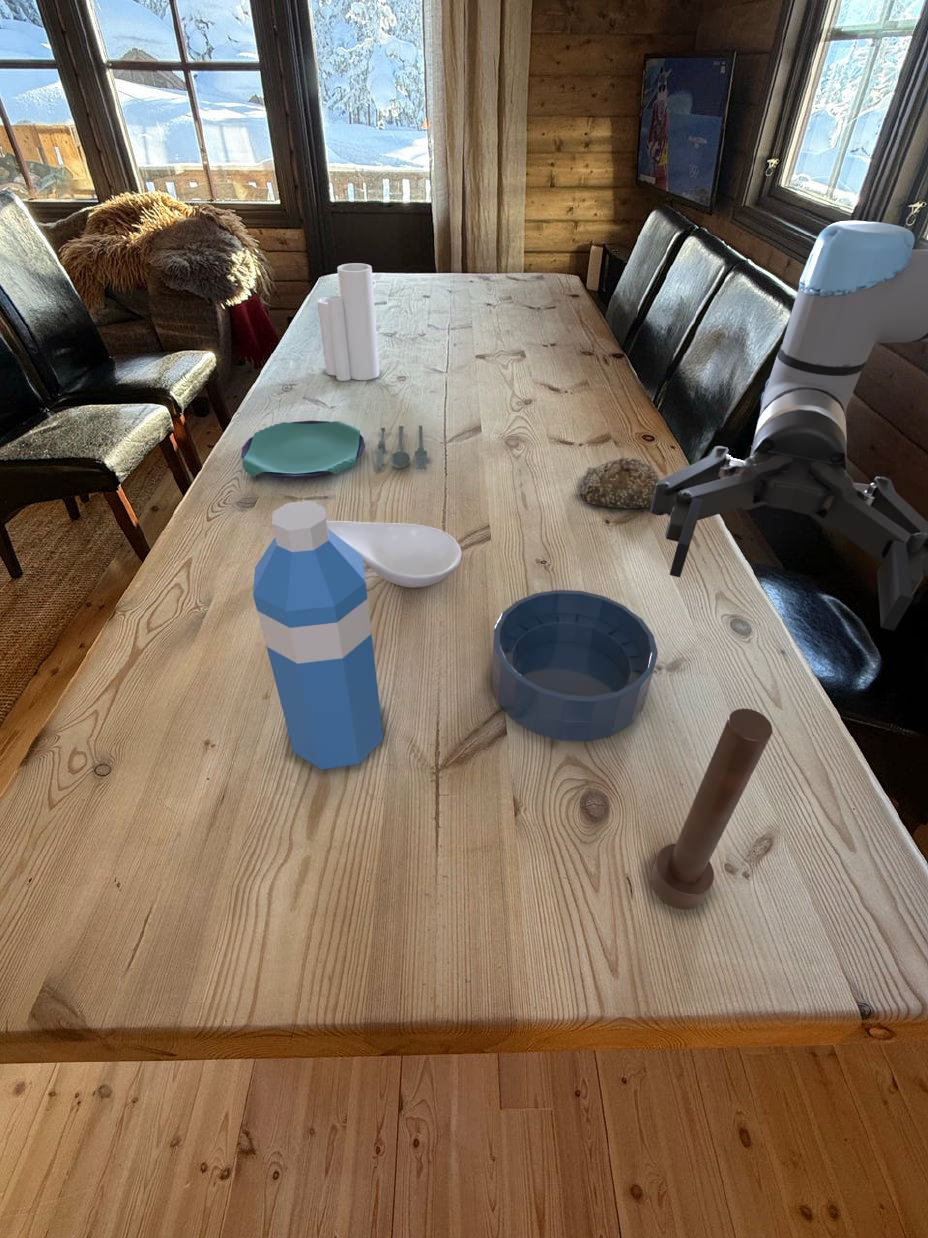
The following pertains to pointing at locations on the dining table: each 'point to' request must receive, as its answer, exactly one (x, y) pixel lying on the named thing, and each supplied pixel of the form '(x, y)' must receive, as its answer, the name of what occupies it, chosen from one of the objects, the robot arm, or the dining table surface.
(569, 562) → the dining table surface
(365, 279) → the vase
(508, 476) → the dining table surface
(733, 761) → the pestle
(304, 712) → the water bottle
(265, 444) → the cutlery set
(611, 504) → the bread roll
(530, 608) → the bowl
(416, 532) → the spoon rest
